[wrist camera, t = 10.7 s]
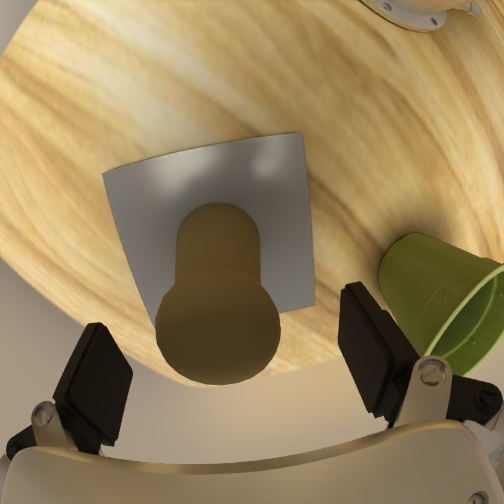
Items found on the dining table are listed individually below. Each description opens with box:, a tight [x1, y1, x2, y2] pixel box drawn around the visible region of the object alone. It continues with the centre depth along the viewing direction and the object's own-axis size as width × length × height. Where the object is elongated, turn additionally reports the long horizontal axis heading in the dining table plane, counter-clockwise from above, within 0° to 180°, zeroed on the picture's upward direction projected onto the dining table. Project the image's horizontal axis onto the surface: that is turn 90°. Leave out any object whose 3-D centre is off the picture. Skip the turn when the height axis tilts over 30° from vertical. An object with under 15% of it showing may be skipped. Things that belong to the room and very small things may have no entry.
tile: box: [102, 133, 315, 330], centre depth 20 cm, size 14×14×1 cm
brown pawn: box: [155, 202, 281, 385], centre depth 14 cm, size 6×6×11 cm
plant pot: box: [378, 233, 504, 377], centre depth 18 cm, size 12×12×11 cm
